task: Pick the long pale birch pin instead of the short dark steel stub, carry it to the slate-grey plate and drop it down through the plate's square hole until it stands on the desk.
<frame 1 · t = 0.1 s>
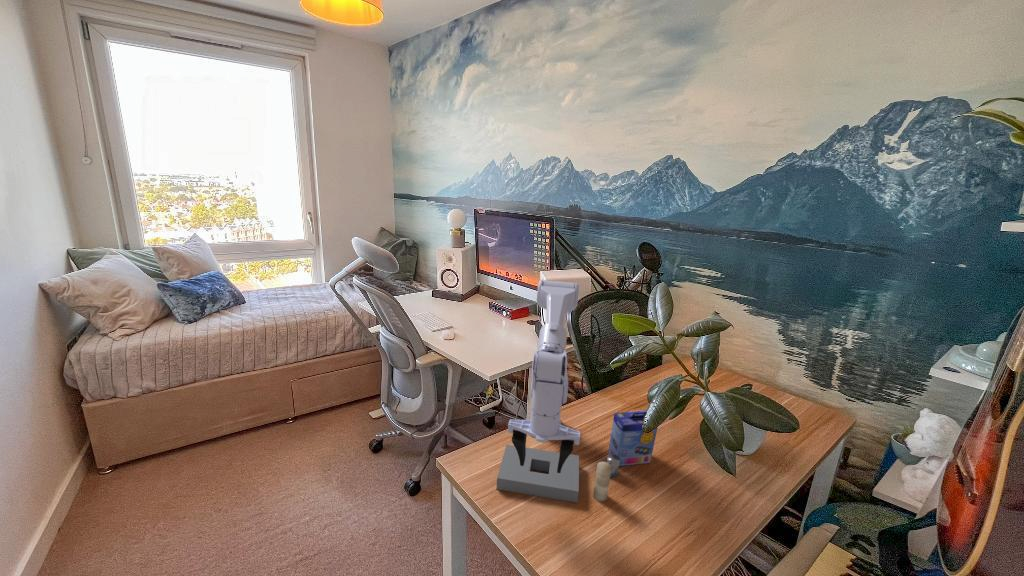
hand: (540, 466, 86), 10 cm above the table, fingers open, 7 cm apart
ink cartridge box: (629, 459, 105), on the table
hole plate: (539, 477, 97), on the table
birch pin: (600, 496, 92), on the table
short steel pin: (611, 474, 99), on the table
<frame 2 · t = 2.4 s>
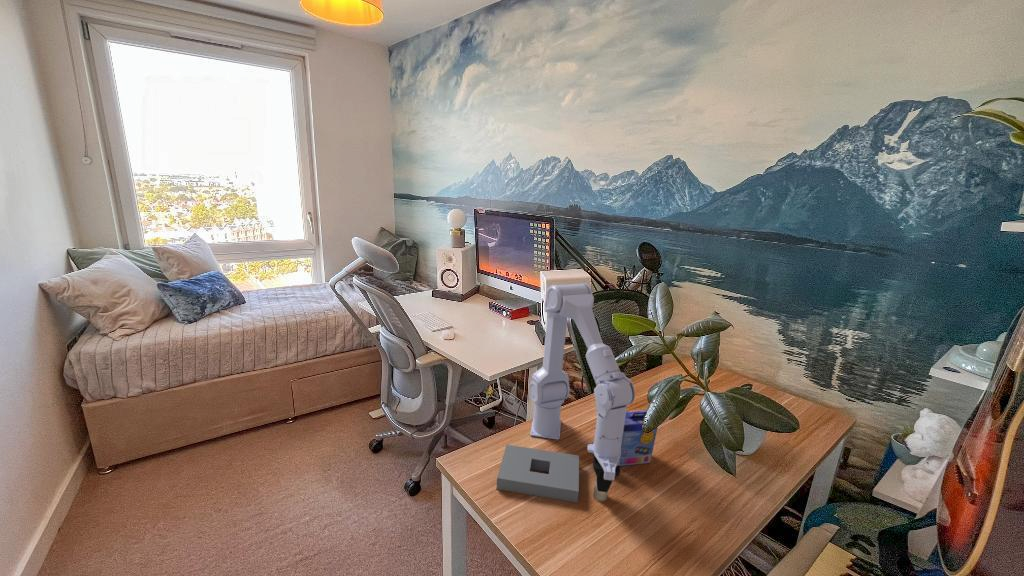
hand: (601, 484, 91), 3 cm above the table, fingers closed on birch pin, 3 cm apart
birch pin: (600, 496, 92), on the table, touching gripper
everything else where it was.
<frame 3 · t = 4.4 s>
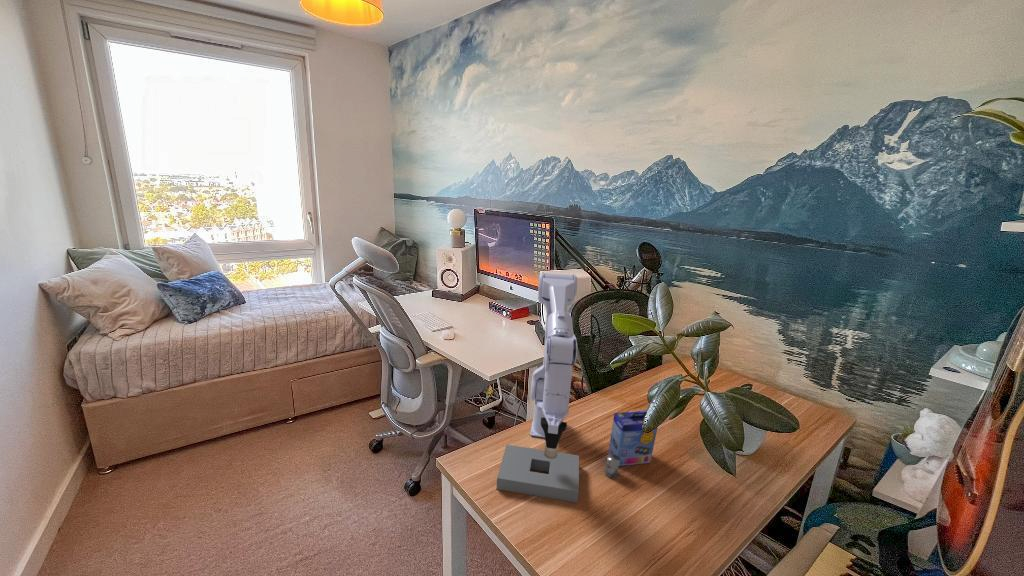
hand: (551, 442, 93), 10 cm above the table, fingers closed on birch pin, 3 cm apart
birch pin: (550, 454, 94), point 7 cm above the table, touching gripper
everything else where it was.
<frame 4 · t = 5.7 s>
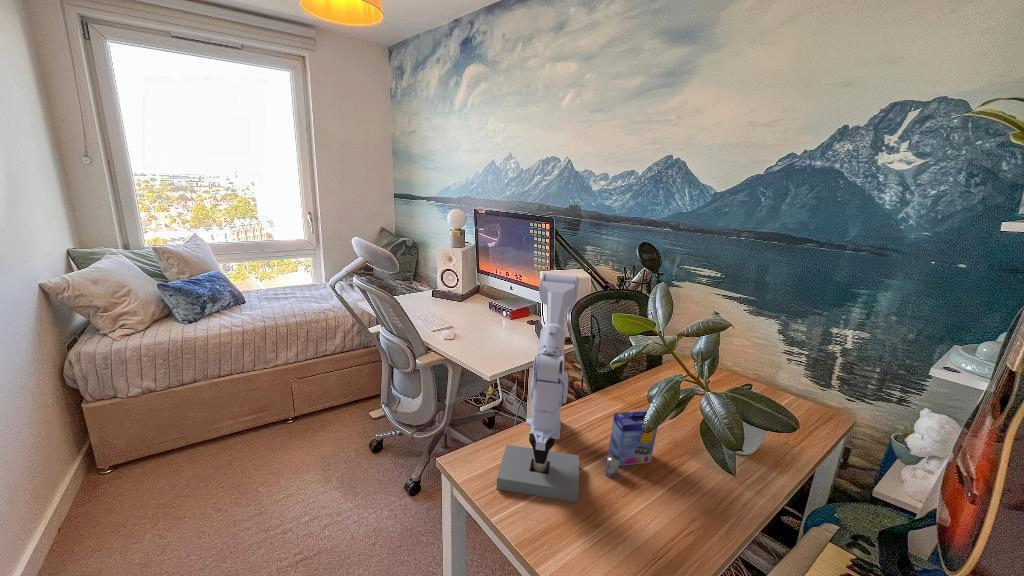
hand: (540, 457, 95), 5 cm above the table, fingers closed on birch pin, 3 cm apart
birch pin: (539, 469, 96), point 2 cm above the table, touching gripper
everything else where it was.
when the fingers open (5 cm above the table, at t = 6.6 s): birch pin drops 2 cm, resting in hole plate.
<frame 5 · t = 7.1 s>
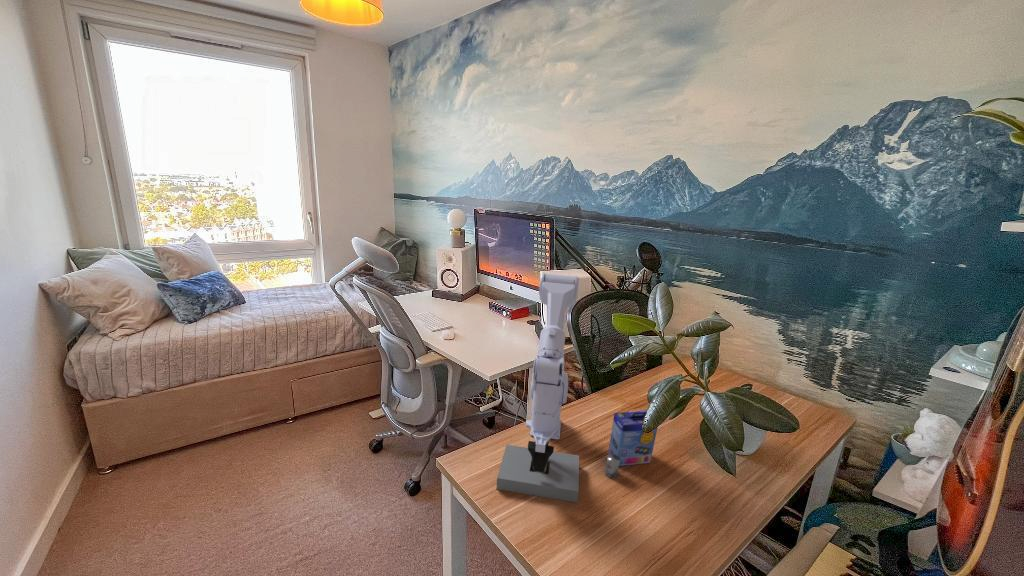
hand: (540, 459, 95), 5 cm above the table, fingers open, 7 cm apart
birch pin: (538, 477, 97), resting in hole plate
everything else where it was.
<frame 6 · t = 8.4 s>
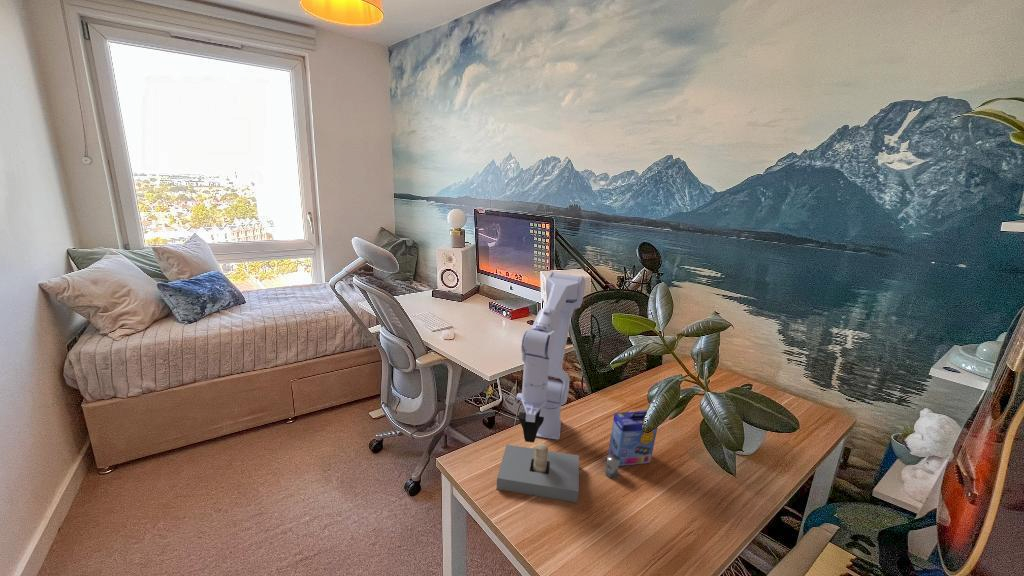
hand: (531, 431, 98), 9 cm above the table, fingers open, 7 cm apart
nothing on the table moved.
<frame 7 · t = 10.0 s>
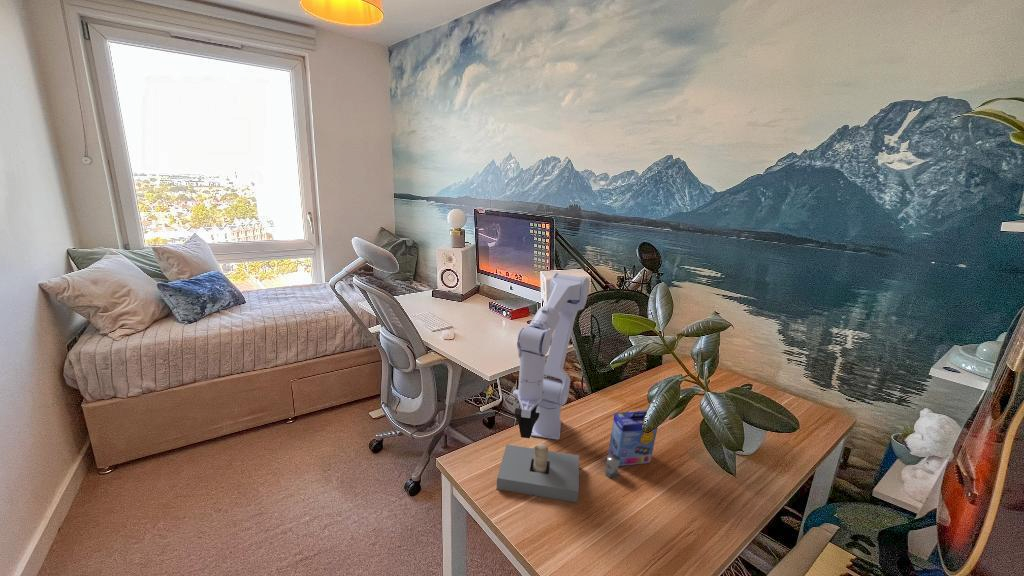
hand: (527, 427, 100), 9 cm above the table, fingers open, 7 cm apart
nothing on the table moved.
at the end: birch pin 0.0 cm from the hole plate (horizontally); birch pin resting in hole plate; the gripper is holding nothing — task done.
